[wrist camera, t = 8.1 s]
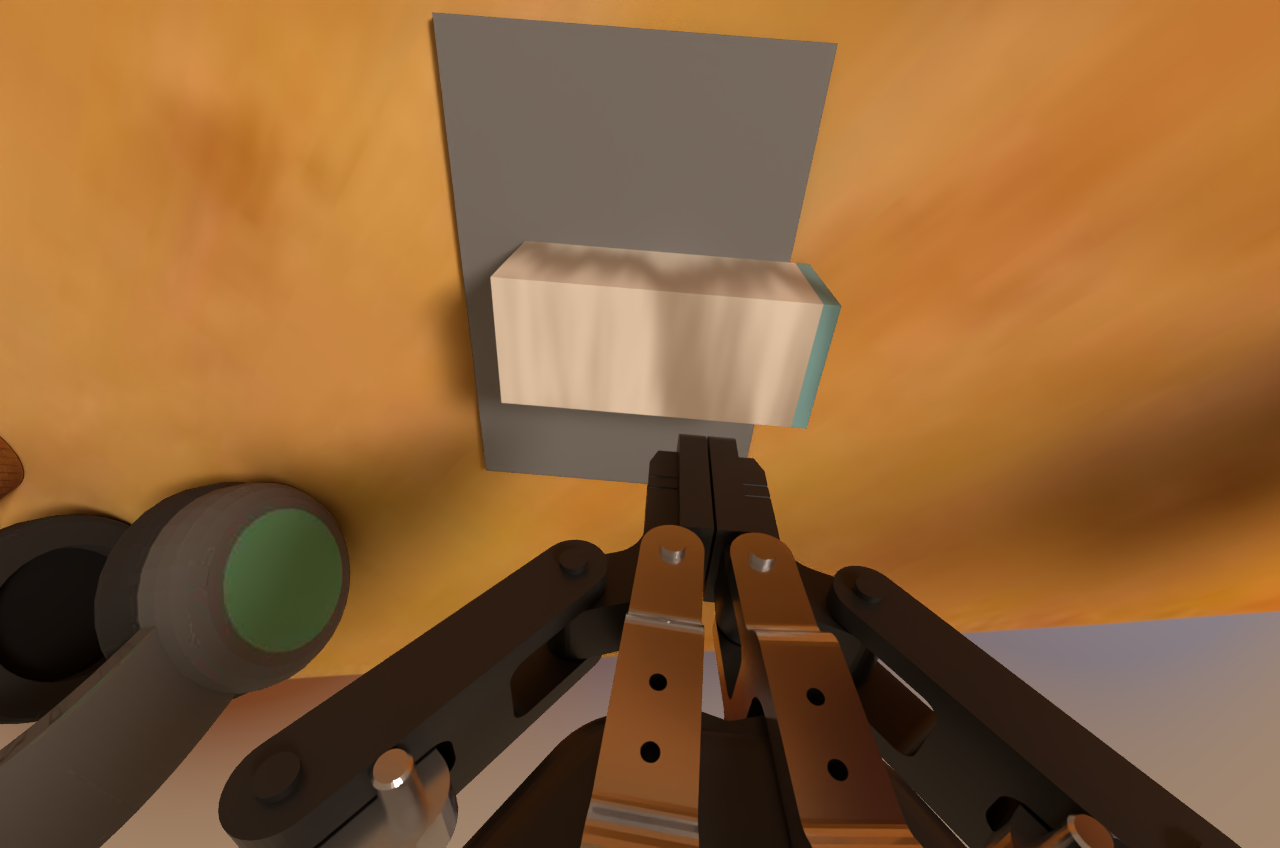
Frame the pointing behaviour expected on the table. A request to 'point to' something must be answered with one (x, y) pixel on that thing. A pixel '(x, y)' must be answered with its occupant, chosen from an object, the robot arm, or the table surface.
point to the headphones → (148, 643)
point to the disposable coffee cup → (9, 469)
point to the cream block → (661, 333)
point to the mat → (616, 185)
